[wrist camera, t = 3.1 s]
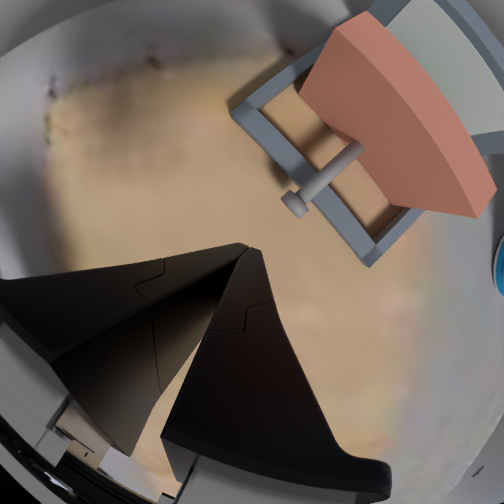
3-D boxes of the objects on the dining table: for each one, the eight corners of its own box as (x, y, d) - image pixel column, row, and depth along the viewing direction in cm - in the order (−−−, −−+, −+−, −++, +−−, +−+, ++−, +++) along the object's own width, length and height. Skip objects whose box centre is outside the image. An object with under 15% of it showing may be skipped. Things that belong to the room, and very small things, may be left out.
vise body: (363, 264, 21) (435, 314, 11) (230, 117, 19) (216, 55, 9) (474, 140, 19) (550, 132, 9) (373, 15, 16) (423, -43, 7)
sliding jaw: (334, 261, 21) (393, 313, 11) (232, 150, 19) (218, 113, 9) (410, 185, 20) (497, 189, 10) (320, 77, 18) (367, 10, 8)
